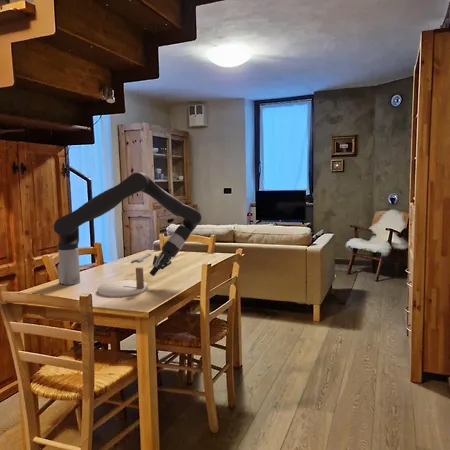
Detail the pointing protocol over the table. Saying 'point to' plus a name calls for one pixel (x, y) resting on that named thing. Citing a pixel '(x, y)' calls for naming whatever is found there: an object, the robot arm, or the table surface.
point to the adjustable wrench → (140, 258)
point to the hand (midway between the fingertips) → (151, 274)
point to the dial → (125, 286)
